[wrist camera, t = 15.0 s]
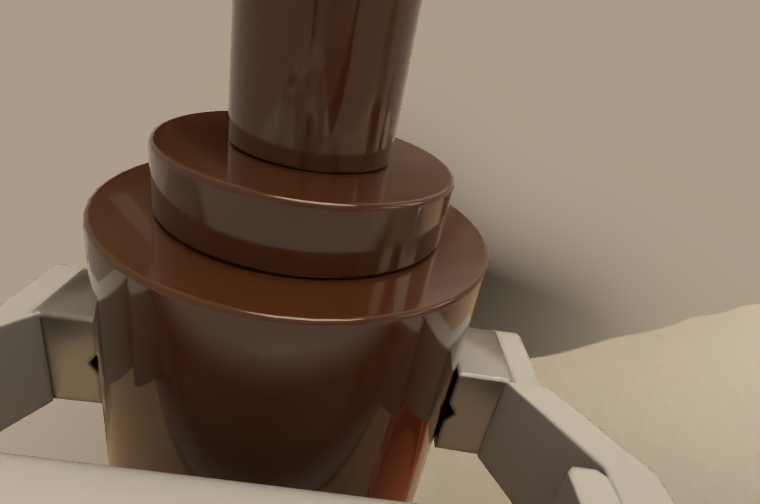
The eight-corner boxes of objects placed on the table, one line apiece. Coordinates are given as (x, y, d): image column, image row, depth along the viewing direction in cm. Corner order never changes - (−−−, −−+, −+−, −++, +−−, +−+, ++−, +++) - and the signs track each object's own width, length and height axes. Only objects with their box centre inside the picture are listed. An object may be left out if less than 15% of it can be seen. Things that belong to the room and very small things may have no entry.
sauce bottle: (294, 489, 17) (383, -107, 9) (405, 656, 13) (723, -127, 5) (104, 594, 13) (-17, -277, 5) (184, 873, 9) (160, -787, 1)
